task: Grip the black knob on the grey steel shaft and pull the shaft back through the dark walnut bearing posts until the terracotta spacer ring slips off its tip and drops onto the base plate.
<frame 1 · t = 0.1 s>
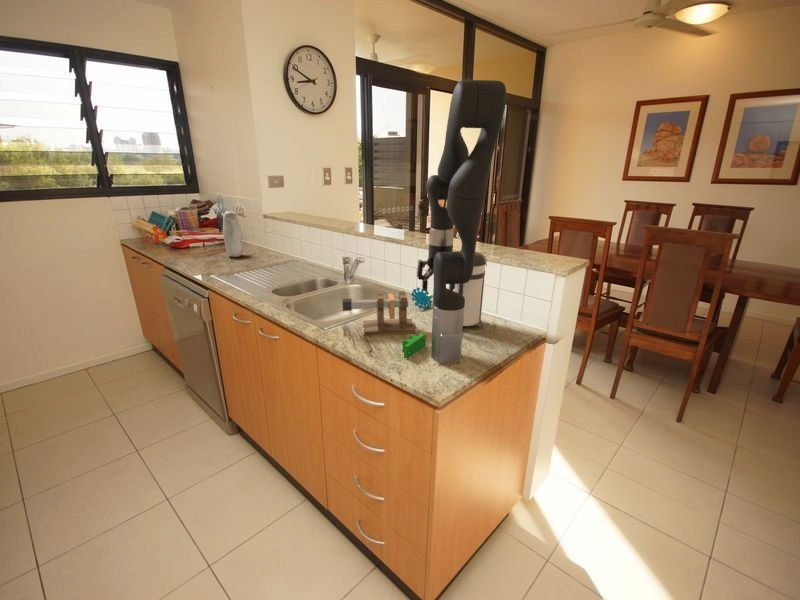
hand: (438, 290, 123), 17 cm above the worktop, tool pointing down, fingers open, 8 cm apart
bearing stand: (388, 329, 136), on the worktop
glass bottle: (235, 256, 234), on the worktop
shaft: (375, 303, 132), point 10 cm above the worktop, slide at 0.0 cm, touching spacer
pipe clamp: (412, 351, 120), on the worktop
teal spiky round piece: (422, 307, 157), on the worktop
spacer: (391, 315, 134), point 5 cm above the worktop, touching shaft
coffee press: (460, 325, 139), on the worktop
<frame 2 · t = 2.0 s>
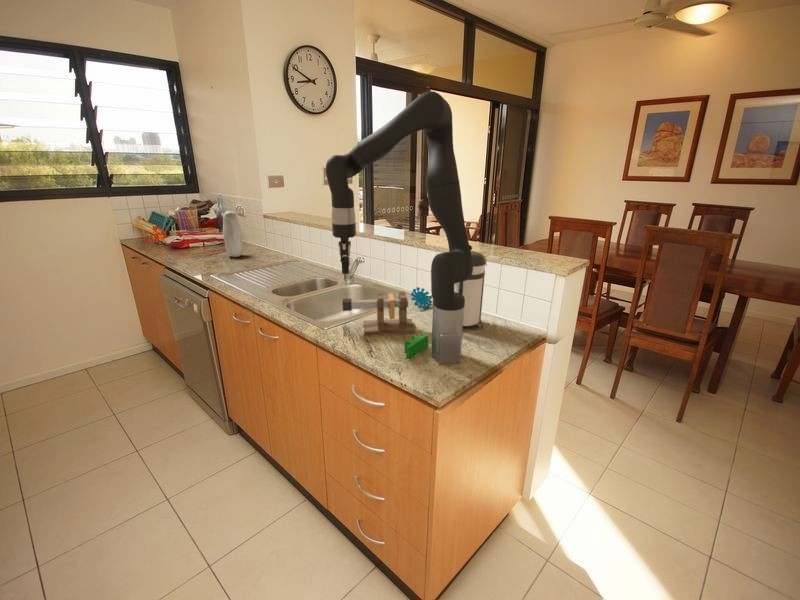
hand: (345, 270, 126), 22 cm above the worktop, tool pointing down, fingers open, 8 cm apart
nothing on the worktop moved.
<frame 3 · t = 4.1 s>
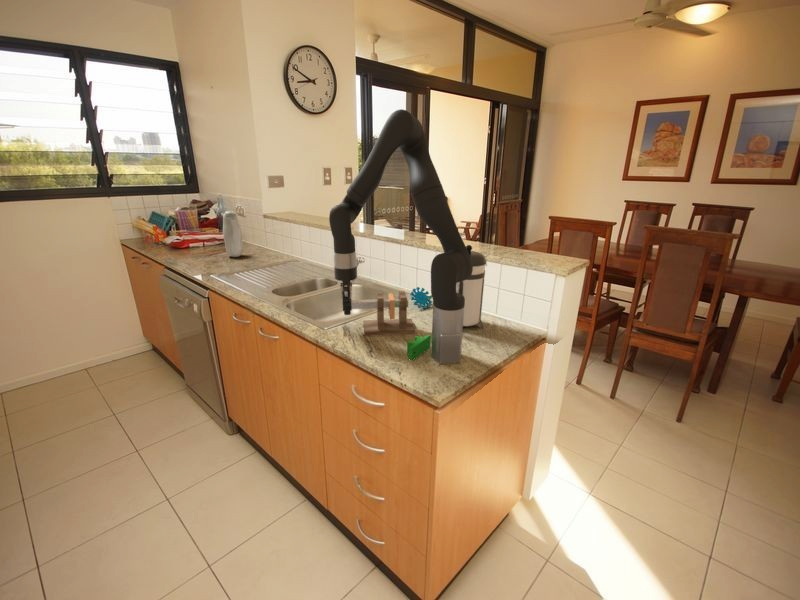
hand: (347, 312, 131), 7 cm above the worktop, tool pointing down, fingers closed on shaft, 3 cm apart
shaft: (375, 303, 132), point 10 cm above the worktop, slide at 0.0 cm, touching gripper, spacer
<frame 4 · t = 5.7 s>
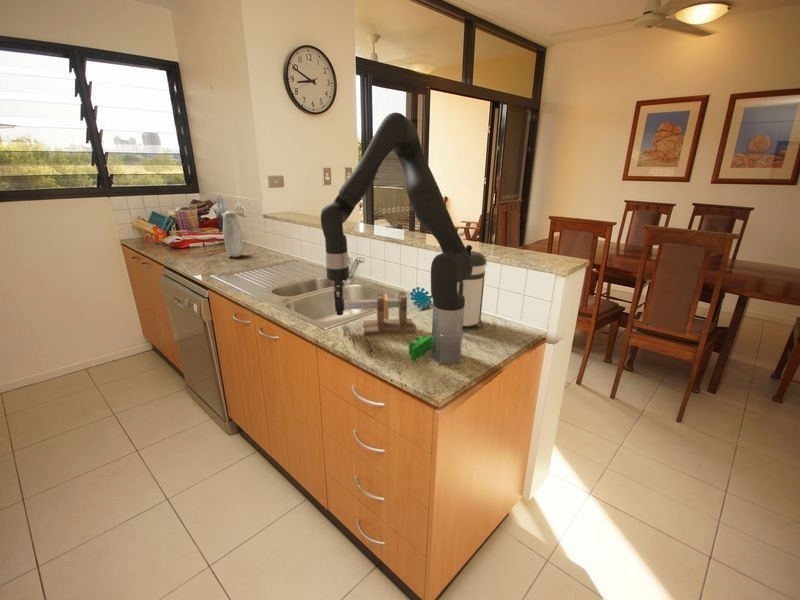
hand: (340, 312, 131), 7 cm above the worktop, tool pointing down, fingers closed on shaft, 3 cm apart
shaft: (368, 303, 131), point 10 cm above the worktop, slide at 2.6 cm, touching gripper, spacer
spacer: (385, 315, 133), point 5 cm above the worktop, touching shaft
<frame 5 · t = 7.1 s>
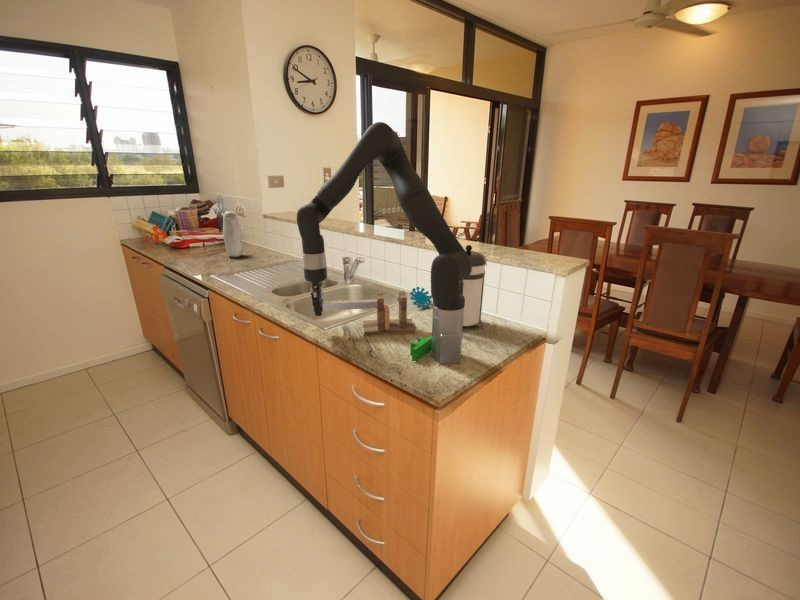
hand: (318, 313, 130), 7 cm above the worktop, tool pointing down, fingers closed on shaft, 3 cm apart
shaft: (347, 304, 130), point 10 cm above the worktop, slide at 9.9 cm, touching gripper
spacer: (386, 325, 135), point 1 cm above the worktop, touching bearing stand
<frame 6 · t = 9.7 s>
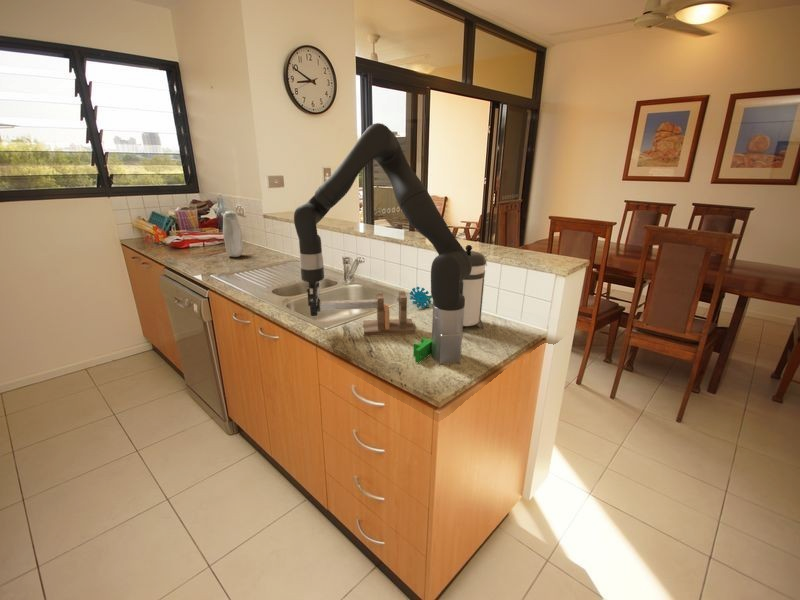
hand: (315, 310, 130), 8 cm above the worktop, tool pointing down, fingers open, 8 cm apart
shaft: (344, 304, 130), point 10 cm above the worktop, slide at 10.8 cm
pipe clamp: (423, 355, 118), on the worktop
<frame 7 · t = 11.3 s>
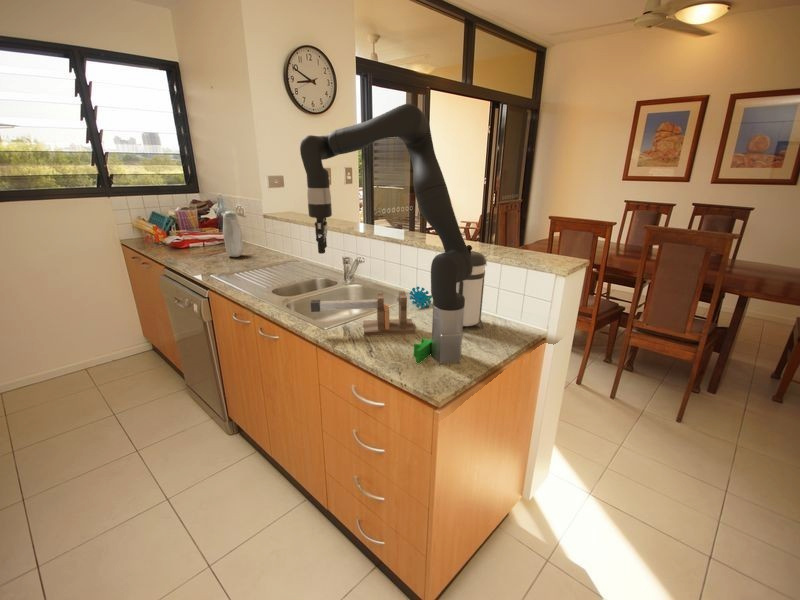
hand: (322, 250, 129), 28 cm above the worktop, tool pointing down, fingers open, 8 cm apart
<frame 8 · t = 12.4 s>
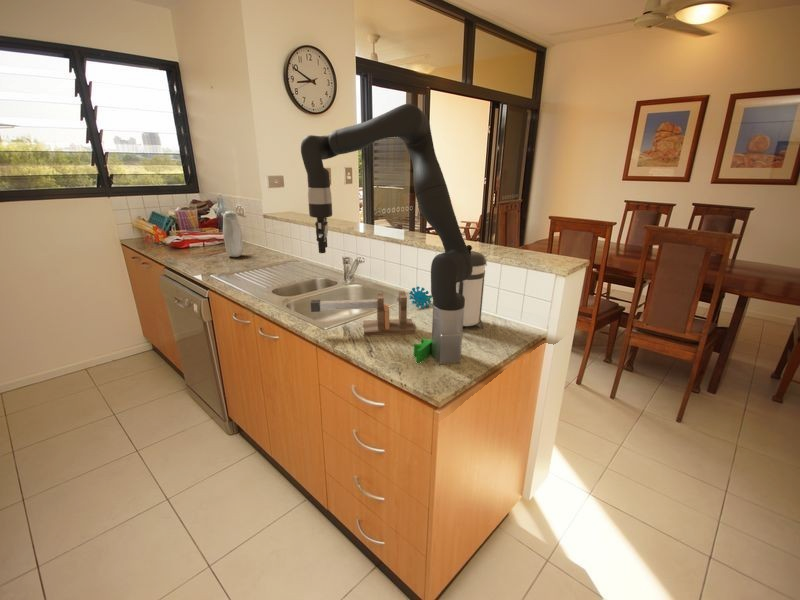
hand: (323, 250, 129), 28 cm above the worktop, tool pointing down, fingers open, 8 cm apart
at the end: shaft slide at 10.8 cm; spacer point 1.5 cm above the worktop; spacer touching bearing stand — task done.
